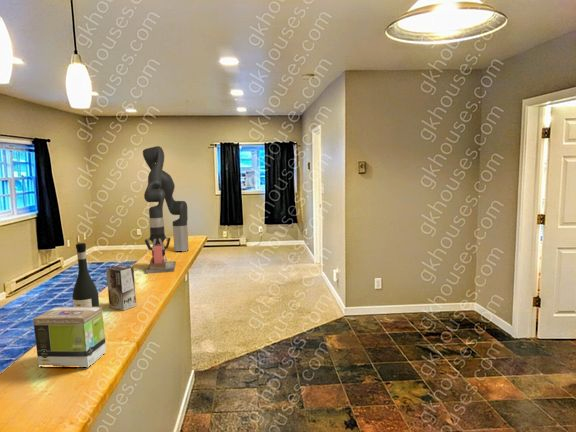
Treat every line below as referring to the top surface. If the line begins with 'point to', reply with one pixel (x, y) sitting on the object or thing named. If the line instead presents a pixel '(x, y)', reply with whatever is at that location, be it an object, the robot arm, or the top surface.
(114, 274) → the coffee box
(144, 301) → the top surface
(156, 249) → the book
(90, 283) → the wine bottle
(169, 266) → the bookend
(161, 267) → the book rack
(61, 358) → the tea box
